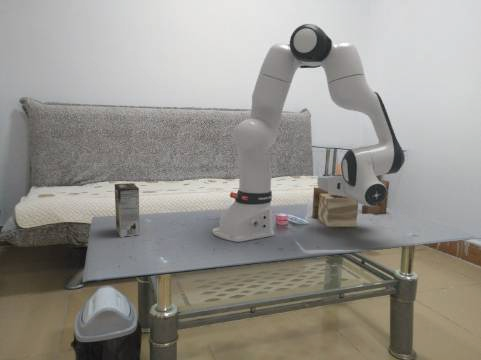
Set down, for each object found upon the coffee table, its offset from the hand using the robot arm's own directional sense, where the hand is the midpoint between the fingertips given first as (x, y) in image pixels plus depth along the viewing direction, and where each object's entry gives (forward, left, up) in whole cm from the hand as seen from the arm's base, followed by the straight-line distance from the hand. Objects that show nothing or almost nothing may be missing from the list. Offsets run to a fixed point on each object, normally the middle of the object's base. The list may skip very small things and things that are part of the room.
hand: (338, 178), depth 136 cm
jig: (-3, -3, -18) cm, 18 cm away
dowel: (-1, -1, -8) cm, 8 cm away
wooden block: (+29, -1, -18) cm, 34 cm away
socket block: (-1, -1, -16) cm, 17 cm away
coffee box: (-65, +39, -18) cm, 78 cm away
